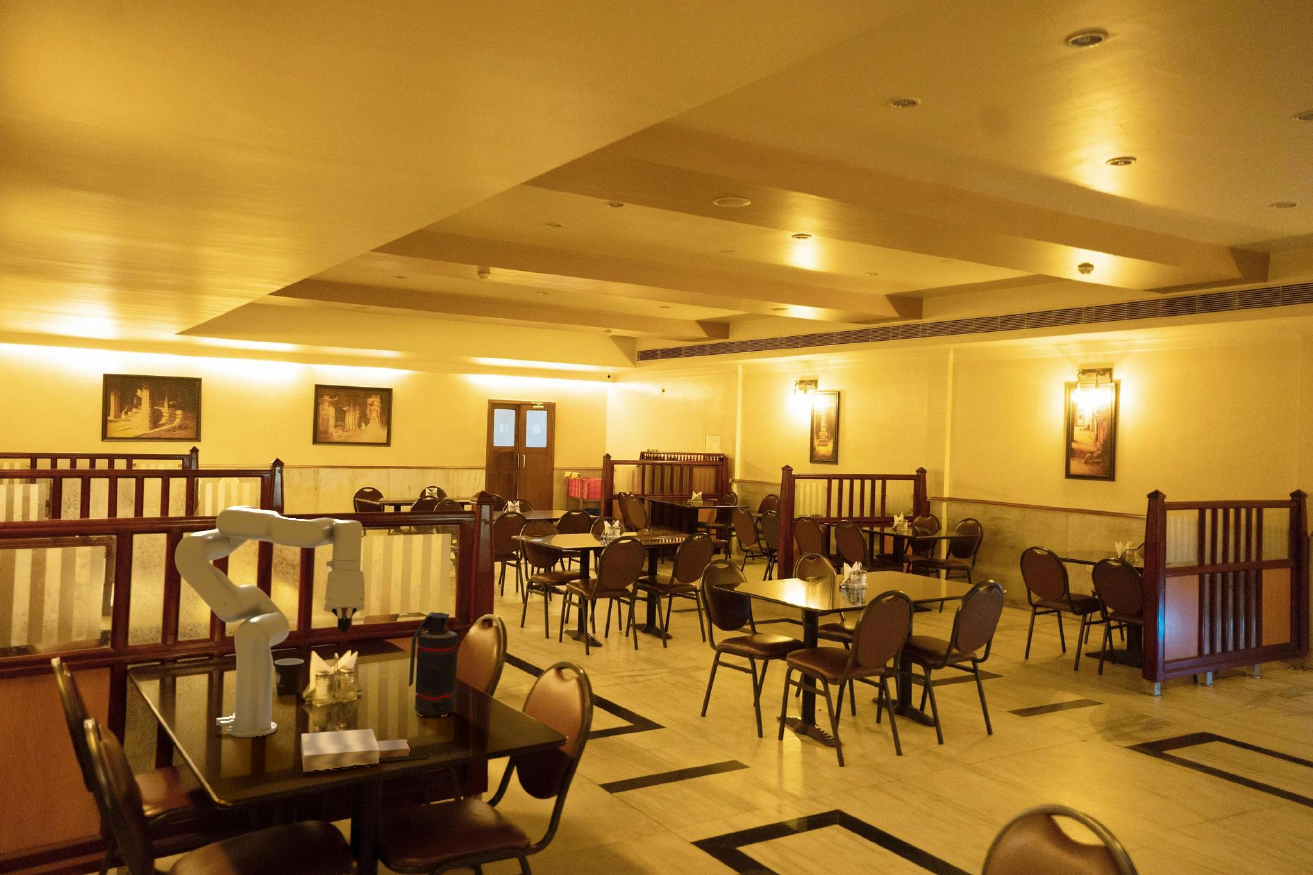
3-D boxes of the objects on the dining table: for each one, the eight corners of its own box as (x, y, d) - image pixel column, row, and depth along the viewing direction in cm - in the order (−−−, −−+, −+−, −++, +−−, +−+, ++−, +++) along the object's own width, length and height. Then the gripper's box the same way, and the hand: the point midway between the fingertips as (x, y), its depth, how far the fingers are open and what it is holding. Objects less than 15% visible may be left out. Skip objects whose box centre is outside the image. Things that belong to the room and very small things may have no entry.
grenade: (457, 708, 298) (462, 611, 298) (450, 719, 286) (455, 618, 286) (412, 706, 297) (417, 609, 298) (404, 717, 286) (408, 616, 286)
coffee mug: (302, 695, 304) (303, 664, 304) (273, 697, 301) (274, 665, 301) (301, 686, 315) (303, 655, 315) (273, 687, 312) (274, 657, 312)
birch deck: (303, 771, 238) (304, 755, 238) (300, 748, 254) (301, 733, 254) (378, 765, 244) (379, 749, 244) (371, 743, 261) (372, 728, 261)
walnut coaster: (377, 758, 248) (377, 750, 248) (374, 748, 256) (374, 741, 256) (409, 755, 251) (409, 748, 251) (405, 746, 259) (405, 738, 259)
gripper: (318, 567, 258) (315, 636, 258) (375, 567, 264) (372, 634, 264) (316, 563, 265) (313, 630, 265) (373, 563, 271) (370, 628, 271)
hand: (343, 632), depth 265 cm, fingers closed
